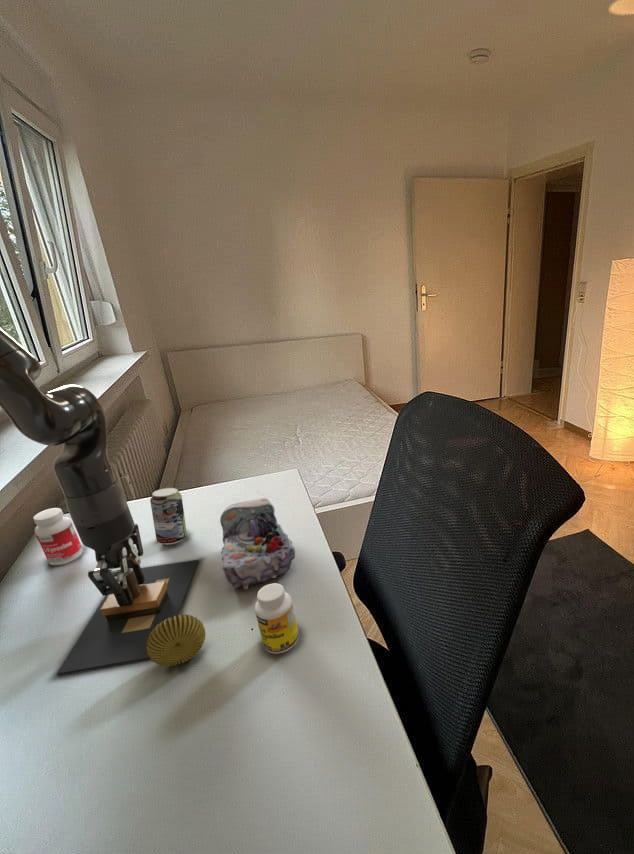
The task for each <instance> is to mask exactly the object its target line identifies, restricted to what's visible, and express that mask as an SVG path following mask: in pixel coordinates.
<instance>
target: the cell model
mask: <svg viewBox="0 0 634 854" xmlns="http://www.w3.org/2000/svg"><path fill="white" fill-rule="evenodd" d="M275 512H276V510H275V506H274V505H273V504H272V503H271V501H270V500H269V499H268V498H266V497H262V498H256V499H251V500H247V501H242V502H236V503H233V504H229V505H228V506H227V507H225V509H224V510H223V512H222V513H221V515H220V518H219V522H220V526H221V528H222V543H223V546H222V547H221V552H220V553H221V562H222V565H221V567H222V570H223V571H224V576H225V579H226V581H227V582H228V583H229V585H231V587H232V588H234V589H237V588H240V587H242V589H244V590H248V588H249V587H250V586H254V585H258V584H263V583H266V582H268V581H269V580H270V579H274V578H275V579H276V577H279V576H281V575H283V574H285V573H286V572H288V571H289V570H290V568H291V567H292V566H291V565H292V561H293V560H294V559H295V558H296V550H295V547H294V546H293V541H292V540H291V539H290V538H289V537H288V534H286V532H284V529H283V528H282V526H281V524H279V523H278V519H277V517H276V514H275Z"/></svg>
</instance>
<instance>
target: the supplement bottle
mask: <svg viewBox="0 0 634 854" xmlns="http://www.w3.org/2000/svg"><path fill="white" fill-rule="evenodd" d="M256 598H257V601H256V603H255V604H254V611H255V612H254V613H255V617H256V621H257V626H258V629H259V633H260V637H261V641H262V644H263V648H264V649H265V650H266V651H267V652H268V653H271V654H282V653H285V652H288V651H289V650H291V649H293V648H294V647H295V645H296V644H297V642H298V640H299V628H298V623H297V618H296V613H295V607H294V603H293V598H292V597H291V595H290V594H289V593H288V592H286V591H285V588H284V586H283V585H282V584H280V583H276V582H274V583H273V582H272V583H268V584H265V585H264V586H262V587H261V588H260V589H259V590H258V592H257V595H256Z"/></svg>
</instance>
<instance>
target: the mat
mask: <svg viewBox="0 0 634 854" xmlns="http://www.w3.org/2000/svg"><path fill="white" fill-rule="evenodd" d="M199 564H200V559H193V560H187V561H186V560H185V561H179V562H174V563H173V562H172V563H167V564H160V565H153V566H147V567H141V570H142V573H143V575H144V578H145V581H144V583H143V584H140V585H144V584H151V583H157V582H163V581H165V582H166V585H167V593H168V596H167V599H166V601H165V603H164V605H163V608H162V610H161V612H160V613H156V614H150V615H144V616H138V617H132V618H126V619H120V620H114V621H107V619H106V616H103V615H102V613H101V610H100V609H101V607H102V606H103V604H104V603H105V601H106V599H107V598H108V596H109V595H105V596H104V598H103V599H102V600H101V602H100V604H99V605H98V607H97V608H96V610H95V612H94V614H93V615H92V616H91V618H90V620H89V621H88V623H87V625H86V626H85V628H84V630H83V631H82V633H81V634H80V635H79V637H78V639H77V641H76V642H75V644H74V645H73V646H72V649H71V650H70V652H69V653H68V655H67V656H66V658H65V659H64V661H63V662H62V664H61V666H60V667H59V669H58V671H57V672H56V676H63V675H68V674H74V673H80V672H86V671H91V670H97V669H102V668H103V669H104V668H109V667H114V666H119V665H124V664H125V665H126V664H130V663H136V662H142V661H147V660H151V659H150V657H149V655H148V653H147V641H148V637H149V635H150V633H151V632H152V630H153V629H154V628H155V627H156V626H157V625H158V624H159V623H160V622H162V621H164V620H165V619H168V618H169V617H171V618H172V620H173V616H176V619H177V615H180V612H181V609H182V607H183V604H184V601H185V599H186V596H187V594H188V592H189V590H190V586H191V584H192V581H193V579H194V576H195V573H196V571H197V569H198V566H199ZM116 580H117V581H118V582H119V579H118V577H116ZM168 620H169V619H168Z"/></svg>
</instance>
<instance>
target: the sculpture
mask: <svg viewBox="0 0 634 854" xmlns="http://www.w3.org/2000/svg"><path fill="white" fill-rule="evenodd" d="M168 619H169V620H168ZM168 619H165V620H164V621H162V622H160V623H159V624H158V625H157V626H156V627H155V628H154V629H153V630H152V632H151V633H150V635H149V637H148V641H147V653H148V655H149V657H150V659H149V660H151V661H152V662H154V663H155V664H157V665H160V666H164V667H172V666H177V665H181V663H182V664H185V662H188V661H190V660H191V659H192V658H194V657H195V656H196V655H197V654H198V653H199V652H200V651H201V649H202V647H203V645H204V644H205V640H206V635H207V634H206V628H205V626H204V624H203V622H202V621H201V620H200V619H199V618H197V617H195V616H194V615H190V614H178V615H177V619H176V616H173V620H172V618H171V617H169V618H168Z"/></svg>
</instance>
